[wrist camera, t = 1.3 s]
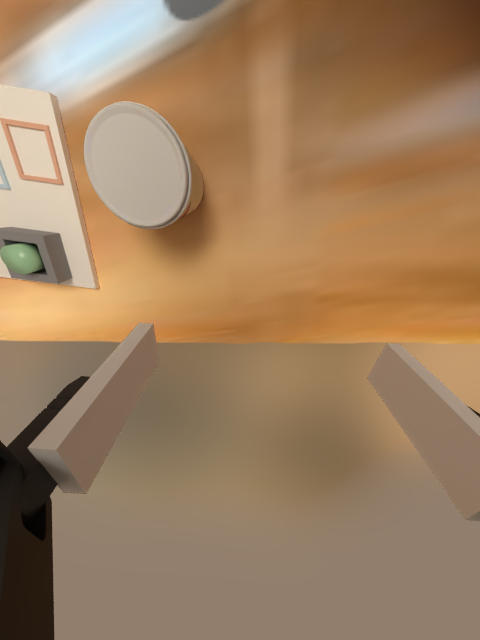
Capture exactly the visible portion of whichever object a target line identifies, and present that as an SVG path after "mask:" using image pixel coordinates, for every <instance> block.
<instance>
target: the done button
mask: <svg viewBox="0 0 480 640" xmlns="http://www.w3.org/2000/svg"><path fill="white" fill-rule="evenodd" d="M0 257H1V259H2V261H3V262H4V264H5V265H6V266H7V267H8V268H9V269H11V270H12V271H14V272H16V273H18V274H29V273H32V272H35V271H38V270H41V269H44V268H45V266H44V263H43V260H42V257H41V255H40V252H39V249H38V246H37V245H36V244H34V243H27V242H24V243H18V244H13V245H7V246H3V247H2V248H1V250H0Z"/></svg>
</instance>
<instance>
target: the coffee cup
mask: <svg viewBox="0 0 480 640" xmlns="http://www.w3.org/2000/svg"><path fill="white" fill-rule="evenodd" d="M84 159H85V165H86V169H87V173H88V176H89V178H90V181H91V183H92V185H93V188H94V189H95V191H96V193H97V194H98V196H99V197H100V199H101V200H102V201H103V203H104V204H105V205H106V206H107V207H108V208H109V209H110V210H111V211H112V212H113V213H114V214H115V215H116V216H118V217H119V218H120V219H122V220H123V221H125V222H127V223H128V224H130V225H133V226H135V227H139V228H143V229H160V228H163V227H166V226H168V225H170V224H172V223H173V222H175V221H176V220H178V219H180V218H182V217H184V216H186V215H188V214H189V213H191V212H192V211H194V210H195V209H196V208H197V207H198V205H199V204H200V202H201V199H202V196H203V190H204V184H203V177H202V174H201V171H200V169H199V167H198V165H197V163H196V162H195V160H194V159H193V157H192V156H191V154H190V153H189V151H188V150H187V149H186V147H185V146H184V144H183V143H182V141H181V139H180V137H179V136H178V134H177V133H176V131H175V130H174V128H173V127H172V126H171V125H170V124H169V123H168V122H167V121H166V119H165V118H163V117H162V116H161V115H160V114H158V113H157V112H156V111H154V110H153V109H151V108H149V107H147V106H145V105H142V104H139V103H135V102H128V101H124V102H117V103H113V104H111V105H108V106H107V107H105V108H103V109H101V110H100V111H99V112H98V113H97V114H96V115H95V116H94V117H93V119H92V120H91V122H90V124H89V126H88V128H87V132H86V135H85V140H84Z"/></svg>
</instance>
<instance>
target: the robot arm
mask: <svg viewBox="0 0 480 640" xmlns="http://www.w3.org/2000/svg"><path fill="white" fill-rule="evenodd" d="M158 363H159V357H158V351H157V345H156V338H155V332H154V326H153V324H149V323H139V324H138V325H137V326H136V327H135V328H134V329H133V330H132V331H131V333H130V334H129V335H128V336H127V337H126V338H125V339H124V340H123V342H122V343H121V344H120V345H119V346H118V347H117V348H116V349H115V350H114V352H113V353H112V354H111V355H110V356H109V357H108V358H107V359H106V361H105V362H104V363H103V364H102V365H101V366H100V367H99V368H98V370H97V371H96V372H95V373H94V374H93V375H92V376H91V377H85V376H81V377H80V378H78V379H77V380H75V381H73V382H72V383H70V384H69V385H67V386H66V387H65V388H64V389H63V390H62V391H61V392H60V393H59V394H58V395H57V398H56V399H54V400H53V401H52V402H51V403H50V404H49V405H48V406H47V408H45V409H44V410H43V411H42V412H41V413H40V414H39V415H38V416H37V417H36V418H35V419H34V420H33V421H32V422H31V423H30V424H29V425H28V426H27V427H26V428H25V429H24V430H23V431H22V432H21V433H20V434H19V435H18V436H17V437H16V438H15V439H14V440H13V441H12V442H11V443H10V444H9V445H8V446H7V447H6V446H5V445H4V444H3V443H2V442H1V441H0V640H54V601H53V550H52V502H51V498H50V495H51V493H52V492H53V490H54V489H55V487H56V486H57V485H58V486H59V488H60V489H61V490H62V491H63V492H64V493H77V494H87V492H88V490H89V488H90V486H91V485H92V483H93V481H94V479H95V477H96V475H97V474H98V472H99V470H100V468H101V466H102V465H103V463H104V461H105V459H106V457H107V456H108V454H109V452H110V450H111V448H112V446H113V444H114V443H115V441H116V439H117V437H118V436H119V433H120V432H121V430H122V428H123V426H124V425H125V423H126V421H127V419H128V417H129V415H130V414H131V412H132V410H133V408H134V406H135V405H136V402H137V401H138V399H139V397H140V395H141V394H142V392H143V390H144V388H145V386H146V385H147V383H148V381H149V379H150V377H151V376H152V374H153V372H154V370H155V368H156V366H157V364H158ZM368 380H369V381H370V383H371V384H372V386H373V387H374V389H375V390H376V391H377V393H378V394H379V396H380V397H381V399H382V400H383V402H384V403H385V404H386V406H387V407H388V409H389V410H390V412H391V413H392V414H393V416H394V418H395V419H396V420H397V422H398V423H399V425H400V426H401V428H402V429H403V431H404V432H405V433H406V435H407V436H408V438H409V439H410V441H411V442H412V443H413V445H414V447H415V448H416V449H417V451H418V452H419V454H420V455H421V457H422V458H423V459H424V461H425V462H426V464H427V465H428V467H429V468H430V470H431V471H432V473H433V474H434V475H435V477H436V478H437V480H438V481H439V483H440V484H441V486H442V487H443V489H444V490H445V491H446V493H447V494H448V496H449V497H450V499H451V500H452V502H453V503H454V504H455V506H456V507H457V509H458V510H459V511H460V513H461V514H462V516H463V518H464V519H465V520H473V521H480V414H479V413H477V412H476V411H474V410H473V409H471V408H470V407H468V406H467V405H466V404H464V403H463V402H462V401H461V400H460V399H459V398H458V397H457V396H456V395H454V393H452V392H451V391H450V390H449V389H448V388H447V387H446V386H445V385H444V384H443V383H442V382H440V381H439V380H438V379H437V378H436V377H435V376H434V375H433V374H432V373H431V372H429V371H428V370H427V369H426V368H425V367H424V366H423V365H422V364H421V363H420V362H419V361H418V360H417V359H416V358H414V357H413V356H412V355H411V354H410V353H409V352H408V351H407V350H406V349H405V348H404V347H402V346H401V345H400V344H393V343H386V345H385V347H384V349H383V350H382V352H381V354H380V356H379V358H378V359H377V361H376V363H375V365H374V367H373V369H372V370H371V373H370V375H369V376H368Z"/></svg>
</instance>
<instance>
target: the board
mask: <svg viewBox="0 0 480 640" xmlns="http://www.w3.org/2000/svg"><path fill="white" fill-rule="evenodd" d="M24 242H27V243H34V244H36V245H37V246H38V249H39V252H40V255H41V257H42V260H43V263H44V266H45V268H44V269H41V270H38V271H35V272H32V273H29V274H18V273H16V272H14V271H12V270H11V269H9V268H8V267H7V266H6V265H5V264H4V262H3V261H2V259H1V257H0V277H5V278H13V279H21V280H29V281H37V282H45V283H53V284H61V285H69V286H77V287H85V288H93V289H96V288H98V287H99V283H98V278H97V274H96V269H95V265H94V261H93V256H92V252H91V247H90V243H89V238H88V234H87V230H86V225H85V221H84V216H83V212H82V208H81V203H80V199H79V194H78V190H77V186H76V181H75V177H74V172H73V168H72V164H71V159H70V155H69V150H68V146H67V142H66V137H65V133H64V128H63V124H62V120H61V115H60V111H59V106H58V102H57V98H56V96H54V95H53V94H51V93H49V92H43V91H37V90H31V89H25V88H18V87H12V86H6V85H0V250H1V248H2V247H3V246H7V245H13V244H18V243H24Z"/></svg>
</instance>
